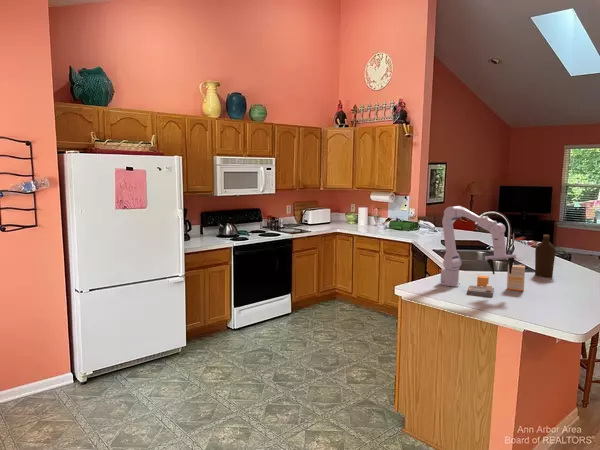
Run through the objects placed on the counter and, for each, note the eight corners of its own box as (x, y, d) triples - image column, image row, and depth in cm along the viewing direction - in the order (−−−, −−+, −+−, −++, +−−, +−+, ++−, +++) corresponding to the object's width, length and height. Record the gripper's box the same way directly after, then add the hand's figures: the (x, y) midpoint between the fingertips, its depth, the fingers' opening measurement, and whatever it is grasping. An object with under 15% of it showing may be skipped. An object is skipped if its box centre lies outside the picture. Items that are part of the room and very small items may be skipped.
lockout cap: (476, 287, 236) (477, 277, 235) (477, 285, 240) (478, 275, 240) (487, 289, 233) (488, 278, 232) (488, 286, 238) (488, 276, 237)
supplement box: (524, 289, 232) (525, 265, 231) (523, 291, 228) (525, 267, 226) (507, 287, 236) (508, 264, 235) (506, 289, 232) (507, 265, 231)
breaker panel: (467, 294, 224) (467, 289, 223) (469, 289, 233) (469, 284, 233) (492, 297, 218) (492, 292, 218) (493, 291, 228) (494, 286, 228)
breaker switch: (486, 290, 222) (486, 285, 221) (486, 289, 224) (486, 284, 224) (491, 290, 221) (491, 285, 220) (491, 289, 223) (492, 284, 222)
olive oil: (549, 278, 256) (552, 236, 253) (530, 275, 264) (533, 234, 261) (556, 275, 263) (559, 235, 260) (538, 272, 271) (540, 233, 268)
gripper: (484, 248, 218) (487, 275, 218) (516, 246, 214) (518, 273, 214) (483, 247, 225) (486, 273, 225) (514, 245, 220) (516, 271, 220)
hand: (502, 273), depth 220 cm, fingers open, 7 cm apart
